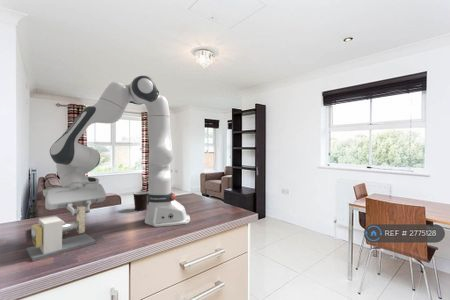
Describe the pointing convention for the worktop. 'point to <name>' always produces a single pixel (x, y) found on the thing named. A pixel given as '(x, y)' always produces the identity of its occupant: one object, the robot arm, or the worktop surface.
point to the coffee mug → (140, 200)
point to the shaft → (73, 225)
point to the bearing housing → (56, 240)
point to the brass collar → (37, 235)
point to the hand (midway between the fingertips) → (81, 213)
